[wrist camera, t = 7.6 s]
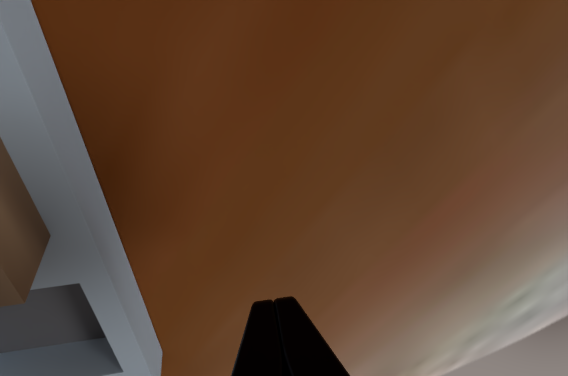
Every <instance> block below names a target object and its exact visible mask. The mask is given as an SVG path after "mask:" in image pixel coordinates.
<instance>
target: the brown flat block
mask: <svg viewBox="0 0 568 376" xmlns="http://www.w3.org/2000/svg"><path fill="white" fill-rule="evenodd" d="M50 236H51V235H50V233H49V231H48V229H47V227H46V225H45V223H44V221H43V219H42V217H41V216H40V214H39V212H38V210H37V208H36V206H35V204H34V202H33V200H32V198H31V196H30V194H29V192H28V190H27V188H26V186H25V184H24V182H23V180H22V178H21V177H20V175H19V173H18V171H17V169H16V167H15V165H14V163H13V161H12V159H11V157H10V155H9V153H8V151H7V149H6V147H5V145H4V143H3V141H2V139H1V137H0V307H3V306H10V305H17V304H24V303H25V302H26V299H27V296H28V294H29V291H30V289H31V286H32V283H33V281H34V278H35V276H36V273H37V270H38V268H39V265H40V263H41V260H42V257H43V255H44V252H45V249H46V247H47V244H48V242H49V239H50Z"/></svg>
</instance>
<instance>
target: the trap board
mask: <svg viewBox="0 0 568 376" xmlns="http://www.w3.org/2000/svg"><path fill="white" fill-rule="evenodd" d="M0 137H1V139H2V141H3V143H4V145H5V147H6V149H7V151H8V153H9V155H10V157H11V159H12V161H13V163H14V165H15V167H16V169H17V171H18V173H19V175H20V177H21V178H22V180H23V182H24V184H25V186H26V188H27V190H28V192H29V194H30V196H31V198H32V200H33V202H34V204H35V206H36V208H37V210H38V212H39V214H40V216H41V217H42V219H43V221H44V223H45V225H46V227H47V229H48V231H49V233H50V235H51V236H50V239H49V242H48V244H47V247H46V249H45V252H44V255H43V257H42V260H41V263H40V265H39V268H38V270H37V273H36V276H35V278H34V281H33V283H32V286H31V289H30V291H29V294H28V296H27V299H26V302H25V303H24V304H17V305H10V306H3V307H0V376H161V364H162V350H161V347H160V344H159V342H158V339H157V336H156V334H155V331H154V328H153V326H152V323H151V320H150V318H149V315H148V312H147V310H146V307H145V304H144V302H143V299H142V296H141V294H140V291H139V288H138V286H137V283H136V280H135V278H134V275H133V272H132V270H131V267H130V264H129V262H128V259H127V256H126V254H125V251H124V248H123V246H122V243H121V240H120V238H119V235H118V232H117V230H116V227H115V224H114V222H113V219H112V216H111V214H110V211H109V208H108V206H107V203H106V200H105V198H104V195H103V192H102V190H101V187H100V184H99V182H98V179H97V176H96V174H95V171H94V168H93V166H92V163H91V160H90V158H89V155H88V152H87V150H86V147H85V144H84V142H83V139H82V136H81V134H80V131H79V128H78V126H77V123H76V121H75V118H74V115H73V113H72V110H71V107H70V105H69V102H68V99H67V97H66V94H65V91H64V89H63V86H62V83H61V81H60V78H59V75H58V73H57V70H56V67H55V65H54V62H53V59H52V57H51V54H50V51H49V49H48V46H47V43H46V41H45V38H44V35H43V33H42V30H41V27H40V25H39V22H38V19H37V17H36V14H35V11H34V9H33V6H32V3H31V1H30V0H0Z"/></svg>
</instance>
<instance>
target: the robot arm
mask: <svg viewBox="0 0 568 376" xmlns="http://www.w3.org/2000/svg"><path fill="white" fill-rule="evenodd" d="M231 376H350V375H349V374H348V372H347V371H346V369H345V368H344V367H343V365H342V364H341V362H340V361H339V359H338V358H337V357H336V355H335V354H334V352H333V351H332V350H331V348H330V347H329V345H328V344H327V343H326V341H325V340H324V338H323V337H322V335H321V334H320V333H319V331H318V330H317V328H316V327H315V326H314V324H313V323H312V321H311V320H310V318H309V317H308V316H307V314H306V313H305V311H304V310H303V309H302V307H301V306H300V304H299V303H298V302H297V300H296V299H295V298H294V297H292V296H290V297H283V298H277V299H275V300H274V302H273V301H272V300H263V301H256V302H254V303H253V305H252V307H251V310H250V314H249V317H248V321H247V324H246V327H245V331H244V334H243V337H242V341H241V344H240V348H239V351H238V354H237V358H236V361H235V364H234V368H233V371H232V375H231Z"/></svg>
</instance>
